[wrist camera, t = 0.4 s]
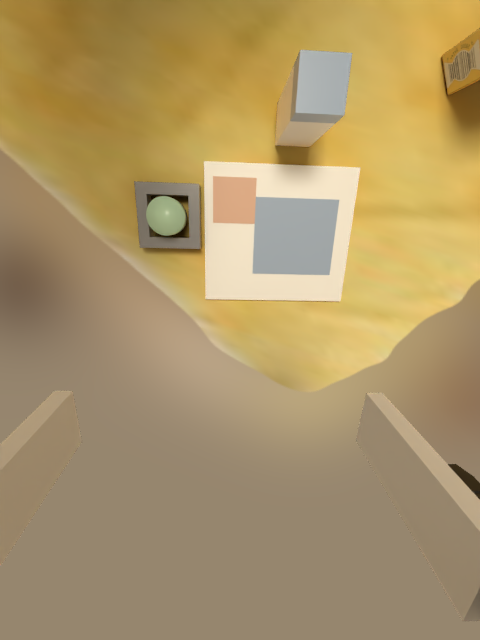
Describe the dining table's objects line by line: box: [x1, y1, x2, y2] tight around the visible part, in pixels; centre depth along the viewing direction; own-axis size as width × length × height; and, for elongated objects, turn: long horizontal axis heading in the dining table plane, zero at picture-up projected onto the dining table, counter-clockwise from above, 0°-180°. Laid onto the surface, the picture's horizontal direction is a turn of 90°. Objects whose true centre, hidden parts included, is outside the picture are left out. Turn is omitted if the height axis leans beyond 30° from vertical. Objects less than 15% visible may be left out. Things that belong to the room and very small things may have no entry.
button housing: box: [134, 181, 201, 249], centre depth 33 cm, size 7×7×2 cm
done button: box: [146, 196, 187, 236], centre depth 31 cm, size 4×4×3 cm
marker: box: [275, 50, 352, 147], centre depth 27 cm, size 4×4×10 cm
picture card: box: [204, 161, 360, 301], centre depth 35 cm, size 16×18×1 cm
